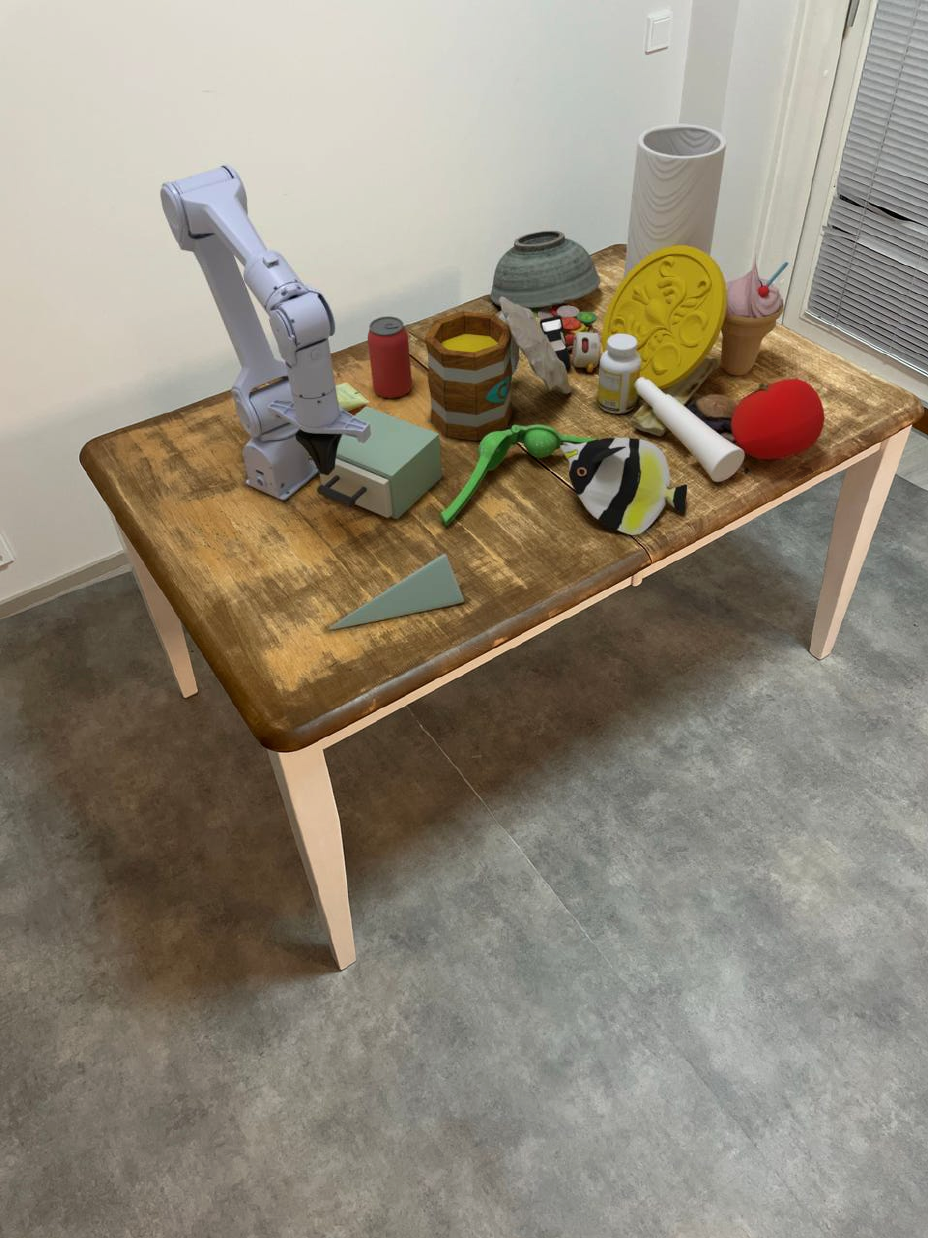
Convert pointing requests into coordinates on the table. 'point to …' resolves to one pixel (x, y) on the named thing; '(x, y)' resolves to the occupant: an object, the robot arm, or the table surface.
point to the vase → (674, 190)
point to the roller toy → (586, 350)
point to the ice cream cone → (748, 319)
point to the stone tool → (535, 345)
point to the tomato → (778, 419)
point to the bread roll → (715, 413)
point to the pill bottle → (619, 374)
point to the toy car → (556, 338)
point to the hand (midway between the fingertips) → (327, 470)
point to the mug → (471, 374)
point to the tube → (349, 397)
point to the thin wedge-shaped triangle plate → (411, 595)
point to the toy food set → (568, 320)
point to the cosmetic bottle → (693, 433)
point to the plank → (679, 391)
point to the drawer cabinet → (396, 456)
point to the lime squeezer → (494, 449)
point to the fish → (622, 481)
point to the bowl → (544, 271)
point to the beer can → (389, 357)
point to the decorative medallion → (669, 312)
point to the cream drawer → (357, 488)
